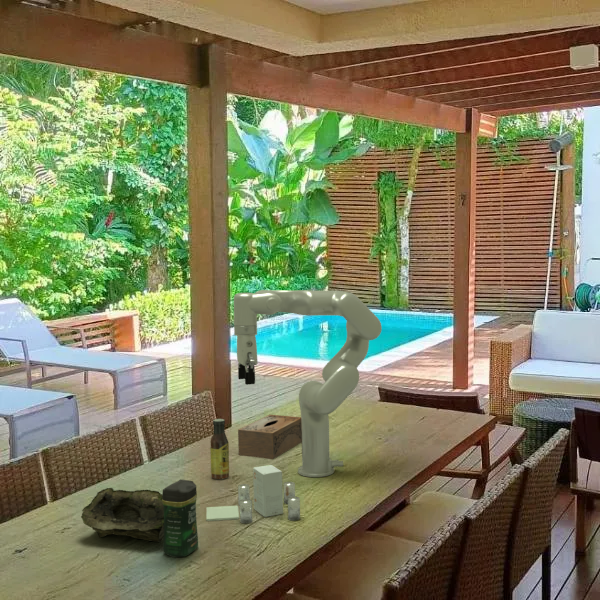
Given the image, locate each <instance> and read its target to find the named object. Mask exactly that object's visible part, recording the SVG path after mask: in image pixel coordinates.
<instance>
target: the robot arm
mask: <svg viewBox="0 0 600 600" xmlns="http://www.w3.org/2000/svg"><path fill="white" fill-rule="evenodd" d="M277 313H289V314H295V315H299V316H340V317H342V318H344V319H345V321H346V324H345V325H346V327H345V328H346V329H345V330H346V341H345V343H344V344H343V345H342V347H341V348H340V350H338V352H337V353H336V354H335V355H334V356H333V357H332V358H330V360H329V361H328V362H327V363H326V364H325V366H323V369H322V372H321V376H322V378H323V381H324V382H323V383H322V382H319V381H316V380H310V381H307V382H306V383H304V384H303V385H302V386H301V387H300V389H299V393H298V403H299V409H300V416H301V425H302V443H301V466H299V467H298V468H297V473H298V474H299V475H301V476H303V477H308V478H323V477H327V476H328V477H329V476H331V475H333V474H334V472H335V467H336V468H337V467H340V468H341V467H344V460H340V459H332V458H331V457H330V419H329V414H332V413H333V412H334V411H336V410H337V409H338V408H339V407H340V405H341V404H342V403H344V401H345V400H346V399H347V398H349V395H351V393H353V392H354V390H355V389H356V387H357V386H358V383H359V381H360V372H359V370H358V367H359V366H360V365H361V363H362V362H363V361H364V360H365V358H366V356H367V354H368V352H369V345H370V341H373V340H376V339H377V338H378V337H379V336H380V335H381V333H382V323H381V321H380V319H379V318H378V316H377V315H376V314H375V313H374V312H373V311H372V310H370V308H369V307H368V306H367V305H366V304H365V303H364V302H363V301H362V300H361V299H360V298H359V297H358V296H357V295H356V294H354V293H352V292H350V291H349V292H348V291H344V290H343V291H342V290H309V289H306V290H304V289H302V290H301V289H300V290H297V289H296V290H280V289H279V290H277V289H276V290H275V289H274V290H272V289H271V290H270V289H266V290H265V289H260V290H258V291H257V290H256V291H255V293H253V292H237V293H236V294H234V296H233V325H234V326H233V328H234V329H233V331H234V335H233V336H236V359H237V362H238V364H237V366H238V367H237V371H238V372H237V376H238V377H237V378H238V380H244V382H245V385H255V384H256V369H255V367H256V366H257V365H258V350H257V349H258V348H257V347H258V346H257V339H256V336H257V335H258V315H267V316H271V315H272V316H273V315H275V314H277Z"/></svg>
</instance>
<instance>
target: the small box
mask: <svg viewBox="0 0 600 600" xmlns="http://www.w3.org/2000/svg"><path fill="white" fill-rule="evenodd" d="M252 475H253V477H252V478H253V479H252V481H253V510H255V511H256V512H257V513H258V514H259V515H261V516H263V518H266V517H272V516H277V515H281V514H282V515H283V514H284V485H283V471H282V470H280V469H279V468H277V467H275V466H274V465H272V464H269V465H261V466H254V467H253V468H252Z"/></svg>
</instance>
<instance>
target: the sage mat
mask: <svg viewBox="0 0 600 600" xmlns="http://www.w3.org/2000/svg"><path fill="white" fill-rule="evenodd" d="M205 520H206V522H211V521H212V522H214V521H215V522H216V521H231V520H233V521H234V520H240V510H239V505H223V506H221V505H220V506H208V507H207V506H206V519H205Z"/></svg>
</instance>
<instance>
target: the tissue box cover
mask: <svg viewBox="0 0 600 600" xmlns="http://www.w3.org/2000/svg"><path fill="white" fill-rule="evenodd" d="M237 437H238V438H237V439H238V440H237V441H238V442H237V443H238V447H237V448H238V456H243V457H250V458H259V459H268V460H275V459H276V458H278V457H280V456H281V455H282V454H283V455H284V453H286V452H288V451H290V450H292V449H294V448H295V447H297V446H298V445H300V444H302V425H301V417H300V416H289V415H279V414H268V415H266V416H264V417H262V418H260V419H258V420H255V421H254V422H250V423H249V424H247V425H244V426H243V427H241V428H238V429H237Z"/></svg>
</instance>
